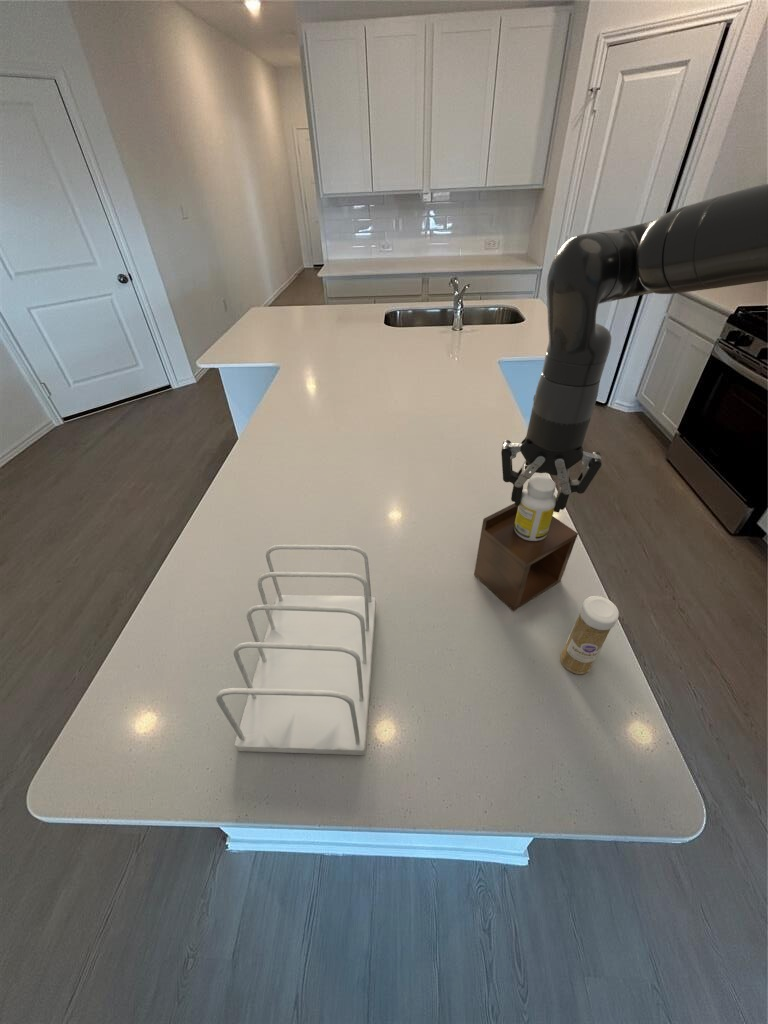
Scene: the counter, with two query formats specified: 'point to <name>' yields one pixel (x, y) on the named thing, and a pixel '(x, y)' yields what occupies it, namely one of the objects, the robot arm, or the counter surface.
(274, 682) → the file sorter
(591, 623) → the sprinkles bottle
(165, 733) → the counter surface
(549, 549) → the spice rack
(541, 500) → the supplement bottle
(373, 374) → the counter surface
